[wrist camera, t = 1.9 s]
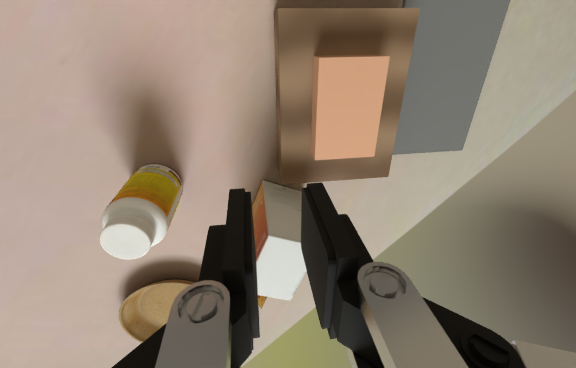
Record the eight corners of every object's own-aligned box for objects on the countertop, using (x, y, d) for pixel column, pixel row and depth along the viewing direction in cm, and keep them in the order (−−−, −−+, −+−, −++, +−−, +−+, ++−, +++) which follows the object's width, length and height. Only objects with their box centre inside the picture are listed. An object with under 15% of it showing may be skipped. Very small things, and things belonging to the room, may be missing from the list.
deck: (273, 11, 25) (278, 8, 22) (397, 11, 27) (419, 8, 23) (278, 168, 33) (282, 184, 29) (373, 162, 34) (388, 176, 31)
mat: (404, -2, 26) (405, -2, 26) (508, -1, 27) (510, -2, 27) (378, 154, 34) (379, 155, 34) (460, 149, 35) (462, 150, 35)
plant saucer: (130, 334, 44) (124, 351, 42) (120, 267, 37) (111, 282, 35) (224, 332, 47) (223, 348, 45) (230, 269, 40) (229, 284, 38)
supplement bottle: (130, 159, 30) (81, 212, 21) (183, 164, 31) (158, 217, 22) (135, 202, 33) (93, 266, 24) (184, 205, 34) (162, 267, 25)
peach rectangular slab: (313, 55, 24) (319, 57, 22) (379, 54, 24) (389, 56, 23) (310, 152, 28) (314, 160, 26) (366, 149, 29) (374, 156, 27)
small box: (262, 178, 33) (268, 233, 24) (303, 190, 35) (323, 246, 26) (241, 228, 37) (239, 293, 27) (280, 238, 38) (290, 302, 29)
